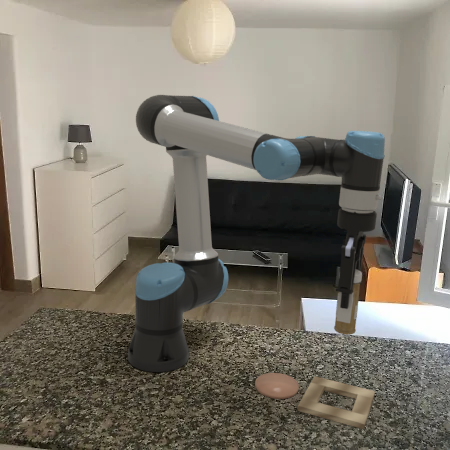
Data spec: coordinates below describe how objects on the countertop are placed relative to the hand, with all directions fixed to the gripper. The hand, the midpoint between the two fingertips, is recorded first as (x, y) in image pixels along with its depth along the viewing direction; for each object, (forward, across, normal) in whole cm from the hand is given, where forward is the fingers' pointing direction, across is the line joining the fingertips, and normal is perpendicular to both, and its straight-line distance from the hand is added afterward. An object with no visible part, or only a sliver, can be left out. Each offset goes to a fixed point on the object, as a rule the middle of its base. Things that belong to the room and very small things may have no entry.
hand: (345, 316), depth 111 cm
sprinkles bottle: (+3, 0, 0) cm, 3 cm away
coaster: (+20, 0, +14) cm, 25 cm away
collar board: (+20, 0, 0) cm, 20 cm away
